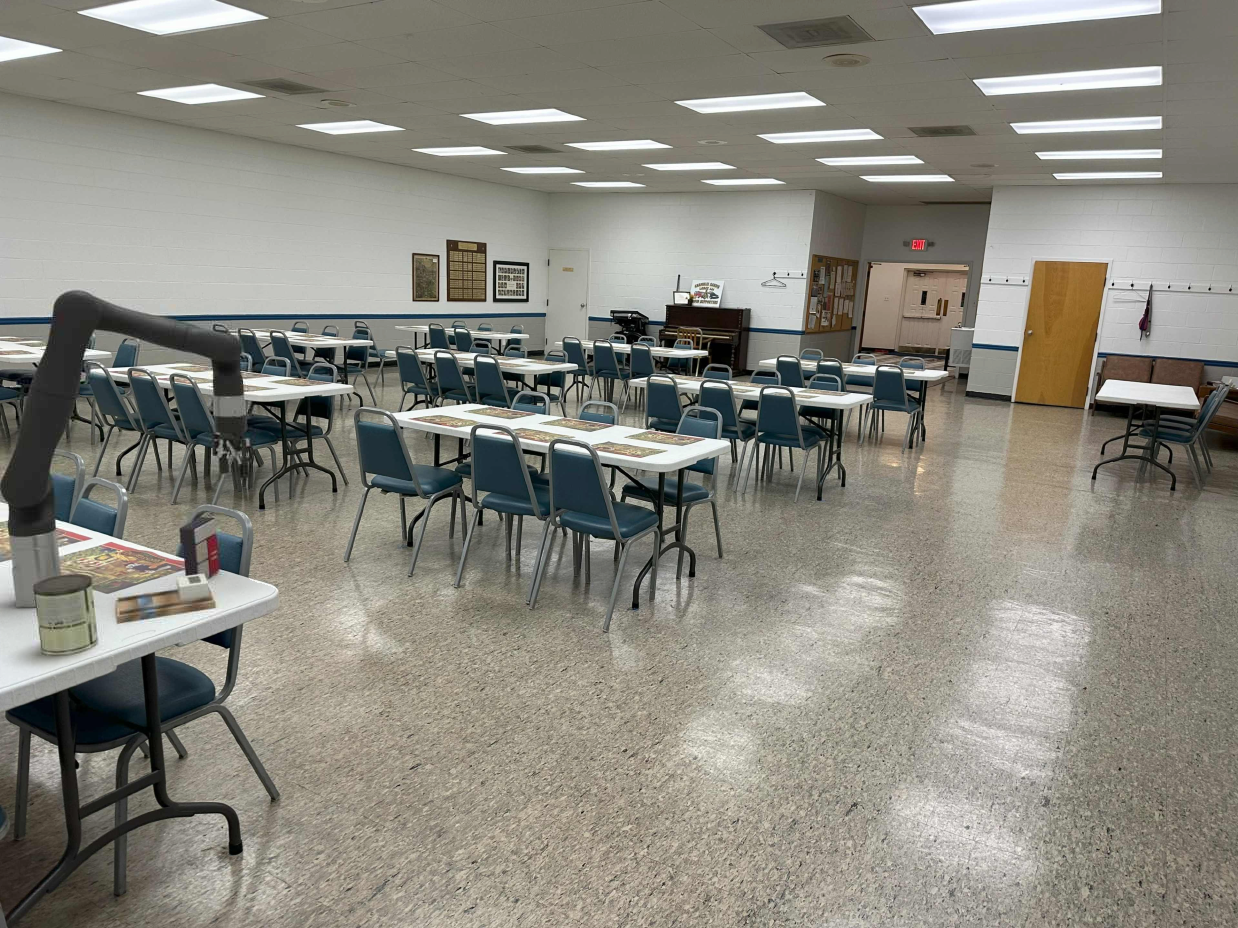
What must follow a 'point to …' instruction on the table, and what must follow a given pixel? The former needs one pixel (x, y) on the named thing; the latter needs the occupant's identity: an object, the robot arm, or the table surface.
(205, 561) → the black red grey box
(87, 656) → the table surface
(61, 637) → the coffee can
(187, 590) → the block
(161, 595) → the board
